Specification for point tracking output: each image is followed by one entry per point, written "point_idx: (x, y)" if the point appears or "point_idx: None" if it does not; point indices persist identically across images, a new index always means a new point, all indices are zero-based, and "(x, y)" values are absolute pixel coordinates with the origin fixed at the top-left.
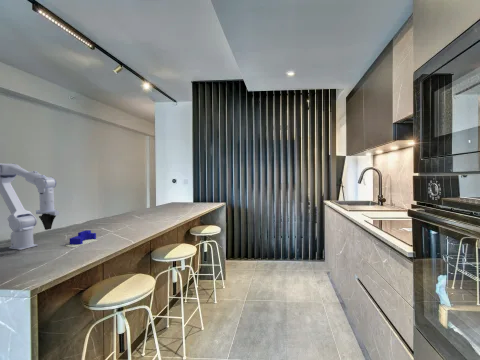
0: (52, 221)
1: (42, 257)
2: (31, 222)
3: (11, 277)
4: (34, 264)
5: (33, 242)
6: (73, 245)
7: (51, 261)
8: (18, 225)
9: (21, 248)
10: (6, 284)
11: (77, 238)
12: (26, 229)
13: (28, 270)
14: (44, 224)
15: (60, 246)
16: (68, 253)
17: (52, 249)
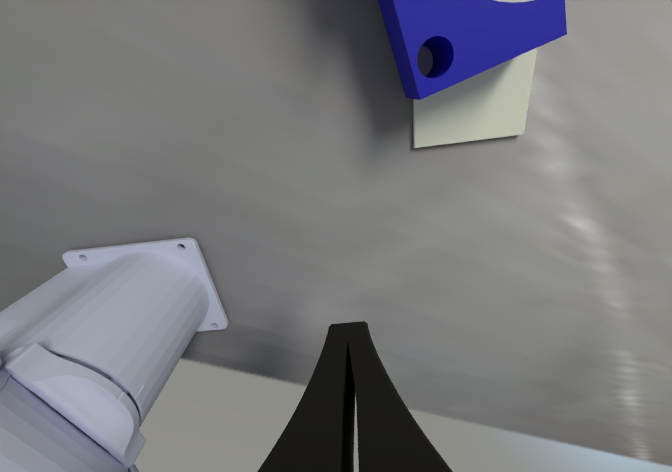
0: (408, 417)
1: (513, 327)
2: (11, 456)
3: (620, 443)
4: (577, 377)
5: (152, 261)
6: (483, 105)
7: (629, 336)
8: None
9: (219, 321)
10: (661, 461)
11: (520, 49)
12: (132, 417)
13: (621, 407)
14: (352, 439)
15: (375, 165)
16: (615, 233)
17: (402, 233)
